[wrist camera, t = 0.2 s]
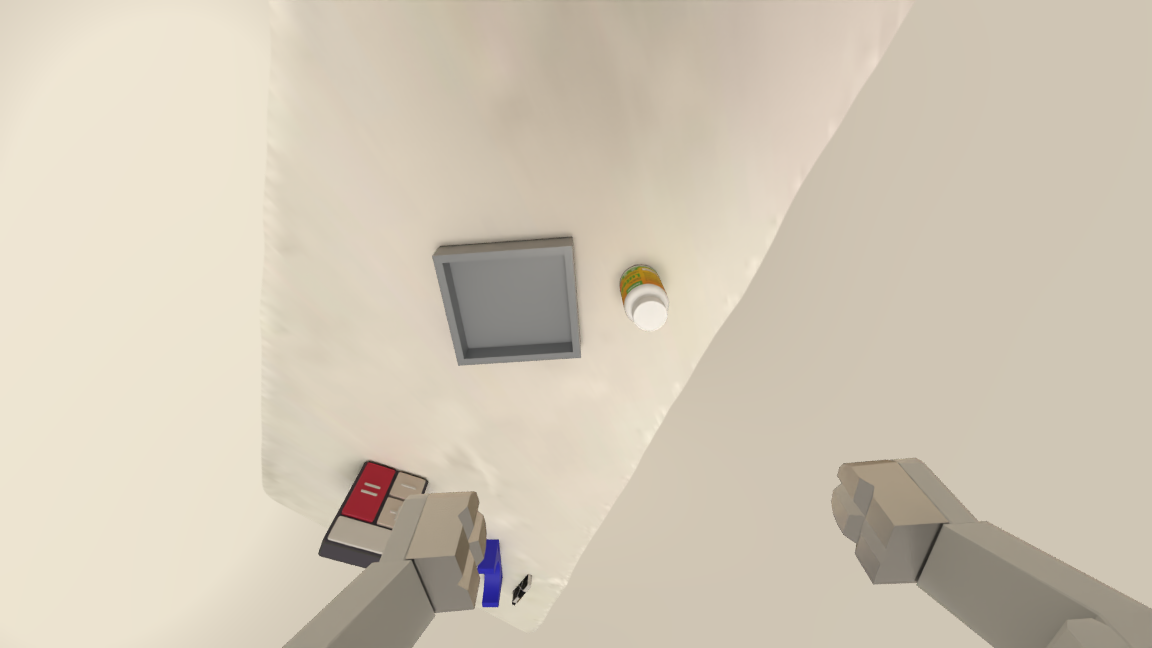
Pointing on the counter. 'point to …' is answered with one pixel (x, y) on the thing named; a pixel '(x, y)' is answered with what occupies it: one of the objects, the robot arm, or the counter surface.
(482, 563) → the cable clip
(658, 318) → the supplement bottle
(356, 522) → the calculator
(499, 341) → the parts tray
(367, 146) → the counter surface
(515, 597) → the graphics card
